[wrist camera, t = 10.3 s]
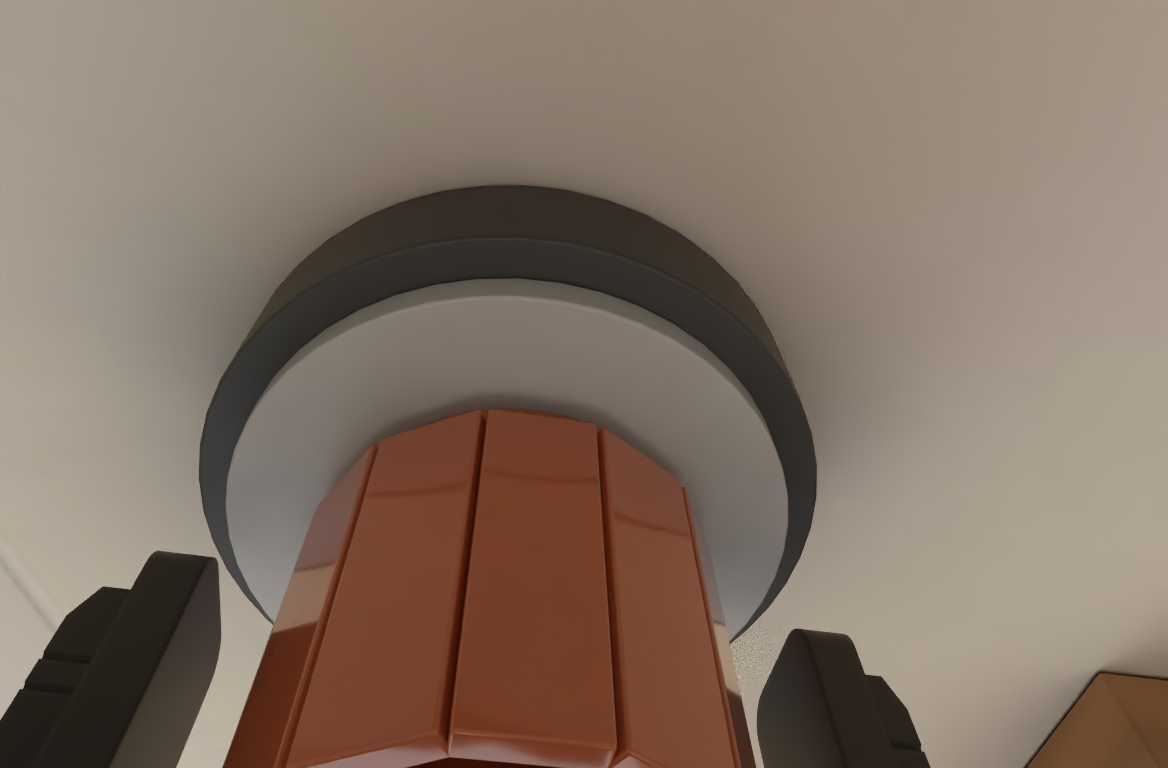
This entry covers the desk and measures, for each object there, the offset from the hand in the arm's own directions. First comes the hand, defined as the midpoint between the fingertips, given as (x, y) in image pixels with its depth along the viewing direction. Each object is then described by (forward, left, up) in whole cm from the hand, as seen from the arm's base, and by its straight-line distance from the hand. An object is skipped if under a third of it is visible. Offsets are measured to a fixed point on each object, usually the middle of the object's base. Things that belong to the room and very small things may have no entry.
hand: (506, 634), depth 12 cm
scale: (0, 0, -4) cm, 4 cm away
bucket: (0, 0, -2) cm, 2 cm away
